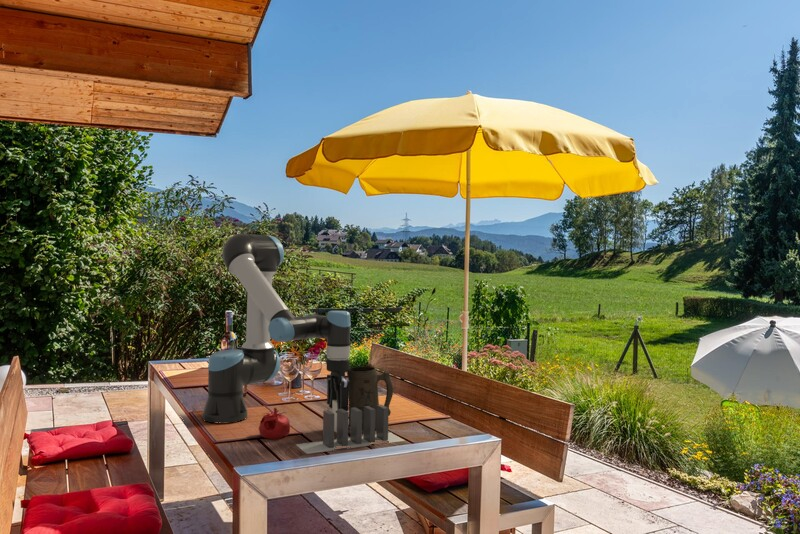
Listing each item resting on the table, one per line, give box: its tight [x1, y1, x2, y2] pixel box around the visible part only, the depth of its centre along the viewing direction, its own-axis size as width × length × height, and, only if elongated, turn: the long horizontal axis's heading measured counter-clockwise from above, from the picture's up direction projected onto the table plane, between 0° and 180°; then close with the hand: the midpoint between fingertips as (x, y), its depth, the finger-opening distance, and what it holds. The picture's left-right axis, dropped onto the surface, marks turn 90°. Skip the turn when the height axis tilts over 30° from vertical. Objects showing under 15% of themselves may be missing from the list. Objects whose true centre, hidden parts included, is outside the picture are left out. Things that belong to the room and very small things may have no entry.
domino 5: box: [362, 406, 376, 443], centre depth 193 cm, size 2×5×10 cm, turn 28°
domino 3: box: [336, 409, 349, 446], centre depth 189 cm, size 2×5×10 cm, turn 28°
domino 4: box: [349, 407, 363, 444], centre depth 191 cm, size 2×5×10 cm, turn 28°
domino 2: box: [332, 400, 338, 433], centre depth 203 cm, size 2×5×10 cm, turn 28°
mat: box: [295, 432, 406, 455], centre depth 190 cm, size 32×10×1 cm, turn 118°
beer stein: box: [346, 366, 394, 432], centre depth 209 cm, size 15×11×20 cm
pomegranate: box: [258, 407, 291, 440], centre depth 196 cm, size 10×10×9 cm
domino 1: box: [322, 409, 335, 448], centre depth 186 cm, size 2×5×10 cm, turn 28°
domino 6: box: [375, 404, 390, 441], centre depth 195 cm, size 2×5×10 cm, turn 28°
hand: (337, 429), depth 203 cm, fingers closed on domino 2, 5 cm apart
